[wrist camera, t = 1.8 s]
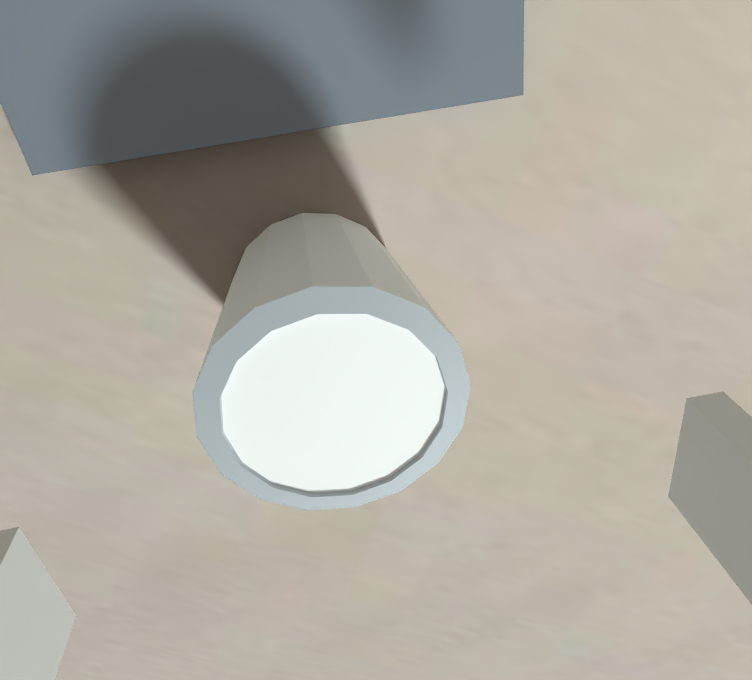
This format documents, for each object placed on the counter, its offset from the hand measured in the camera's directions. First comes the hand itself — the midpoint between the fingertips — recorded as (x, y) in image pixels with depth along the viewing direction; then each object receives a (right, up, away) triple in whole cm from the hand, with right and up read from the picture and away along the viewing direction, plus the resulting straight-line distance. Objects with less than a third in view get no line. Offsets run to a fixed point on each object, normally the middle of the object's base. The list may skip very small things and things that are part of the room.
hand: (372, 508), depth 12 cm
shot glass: (-2, +5, +9) cm, 10 cm away
